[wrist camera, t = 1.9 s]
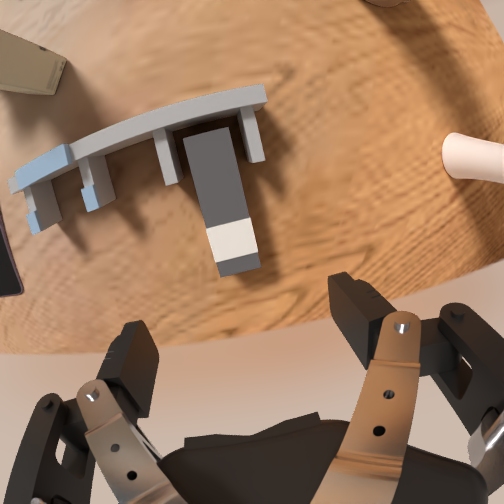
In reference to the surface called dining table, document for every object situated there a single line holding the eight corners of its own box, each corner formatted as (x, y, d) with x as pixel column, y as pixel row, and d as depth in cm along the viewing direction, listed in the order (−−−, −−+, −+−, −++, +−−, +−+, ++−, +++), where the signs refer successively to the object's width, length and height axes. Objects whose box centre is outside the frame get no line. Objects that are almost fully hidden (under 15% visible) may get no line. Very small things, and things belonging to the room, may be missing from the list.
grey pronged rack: (254, 94, 23) (264, 79, 17) (268, 156, 25) (282, 158, 19) (34, 172, 22) (2, 179, 16) (49, 225, 24) (20, 242, 19)
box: (69, 58, 18) (-5, 22, 6) (55, 96, 19) (-28, 80, 8) (35, 59, 17) (-38, 34, 5) (23, 95, 18) (-57, 85, 6)
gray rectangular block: (187, 140, 23) (181, 138, 20) (227, 130, 24) (228, 126, 20) (219, 260, 28) (220, 278, 24) (255, 251, 28) (261, 267, 24)
